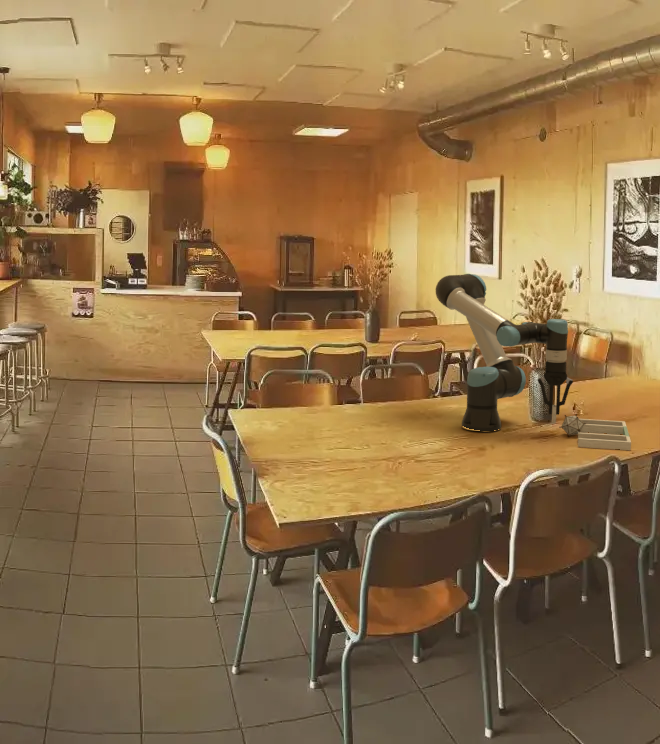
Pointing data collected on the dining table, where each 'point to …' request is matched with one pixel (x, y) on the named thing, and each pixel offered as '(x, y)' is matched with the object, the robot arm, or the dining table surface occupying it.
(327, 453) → the dining table surface
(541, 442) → the dining table surface
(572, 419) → the game die
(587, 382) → the dining table surface
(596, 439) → the trap box
